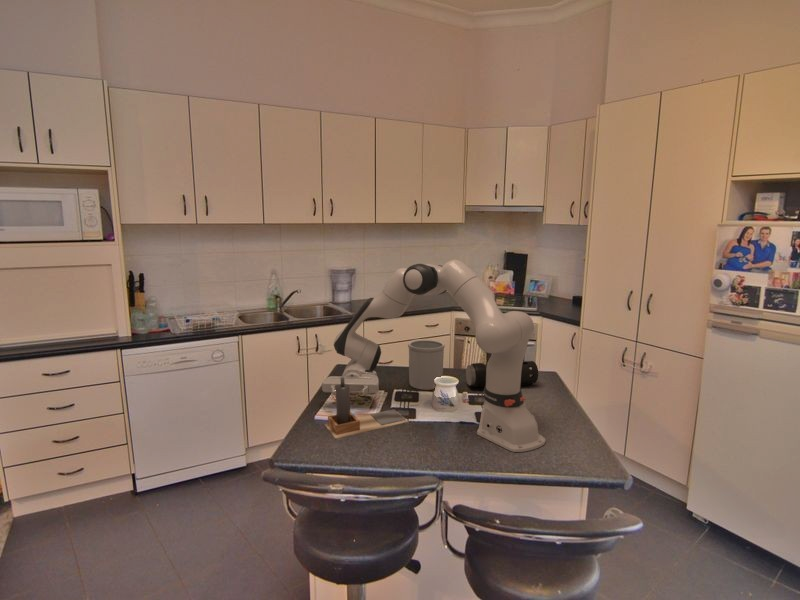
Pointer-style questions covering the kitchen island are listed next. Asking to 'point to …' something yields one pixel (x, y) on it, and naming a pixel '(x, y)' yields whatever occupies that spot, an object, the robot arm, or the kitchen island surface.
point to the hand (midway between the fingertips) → (347, 393)
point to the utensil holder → (425, 362)
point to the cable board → (364, 423)
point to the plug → (343, 402)
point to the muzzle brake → (478, 374)
